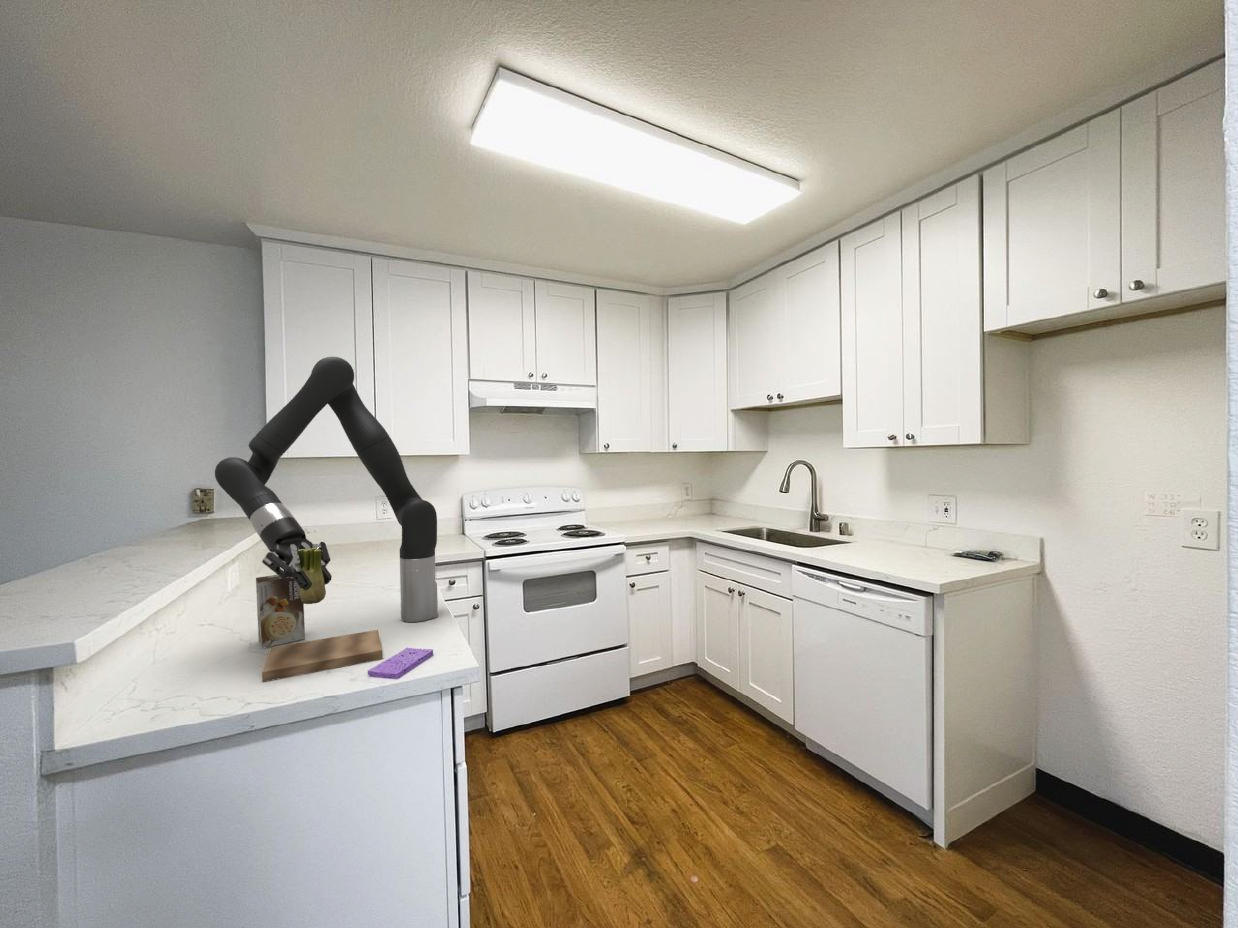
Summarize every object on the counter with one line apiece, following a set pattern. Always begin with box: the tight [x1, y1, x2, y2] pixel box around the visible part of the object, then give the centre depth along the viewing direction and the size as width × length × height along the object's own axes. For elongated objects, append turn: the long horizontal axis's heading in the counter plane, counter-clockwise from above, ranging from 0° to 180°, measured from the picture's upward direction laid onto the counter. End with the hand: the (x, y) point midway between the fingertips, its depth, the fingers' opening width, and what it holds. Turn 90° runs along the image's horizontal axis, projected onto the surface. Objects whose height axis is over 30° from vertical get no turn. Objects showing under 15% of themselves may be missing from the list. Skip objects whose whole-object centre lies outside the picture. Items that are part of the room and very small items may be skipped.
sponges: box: [367, 647, 434, 680], centre depth 108 cm, size 7×13×2 cm, turn 166°
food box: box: [255, 574, 306, 649], centre depth 123 cm, size 9×6×16 cm
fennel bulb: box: [298, 548, 327, 605], centre depth 109 cm, size 6×5×12 cm
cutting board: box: [261, 629, 383, 683], centre depth 113 cm, size 22×15×2 cm
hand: (318, 584), depth 109 cm, fingers closed on fennel bulb, 4 cm apart
